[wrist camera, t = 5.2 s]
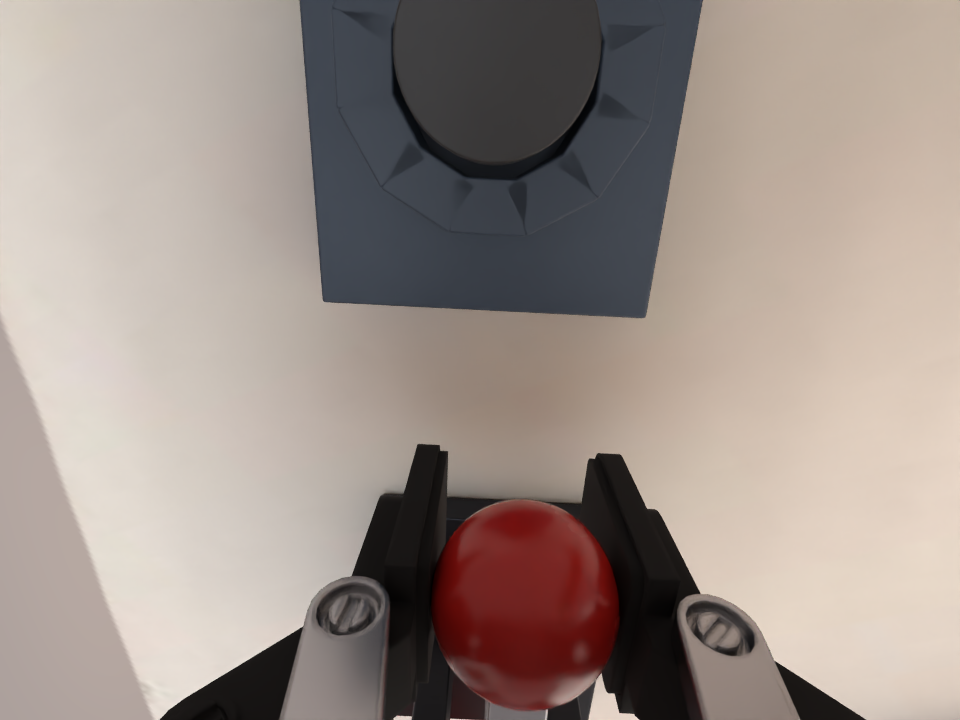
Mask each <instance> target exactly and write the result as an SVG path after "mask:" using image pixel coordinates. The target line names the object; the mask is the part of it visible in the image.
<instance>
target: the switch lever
mask: <svg viewBox="0 0 960 720" xmlns="http://www.w3.org/2000/svg"><path fill="white" fill-rule="evenodd" d="M430 610H431V619H432V624H433V629H434V633H435V636H436V639H437V642H438V645H439V648H440V650H441V651H442V653H443V655H444V657H445V659H446V661H447V663H448V665H449V666H450V667H451V669H452V670H453V672H454V673H455V674H456V675H457V677H458V678H459V679H460V680H461V681H462V682H463V683H464V684H465V685H466V686H467V687H468V688H469V689H470V690H472V691H473V692H474V693H476V694H477V695H479V696H480V697H482V698H483V699H485V700H486V702H485V718H484V720H547V714H548V709H552V708H555V707H558V706H561V705H563V704H565V703H568V702H570V701H571V700H573V699H575V698H576V697H578V696H579V695H580V694H582V693H583V692H584V691H585V690H586V689H587V688H588V687H590V686H591V684H592V683H593V682H594V681H595V680H596V679H597V678H598V677H599V675H600V674H601V672H602V671H603V669H604V668H605V666H606V664H607V662H608V660H609V658H610V657H611V654H612V651H613V649H614V646H615V643H616V639H617V635H618V630H619V623H620V599H619V589H618V584H617V580H616V577H615V573H614V570H613V567H612V565H611V563H610V560H609V558H608V556H607V554H606V552H605V551H604V549H603V547H602V546H601V544H600V542H599V541H598V540H597V539H596V537H595V536H594V535H593V534H592V533H591V531H590V530H589V529H588V528H587V527H586V526H585V525H584V524H583V523H582V522H581V521H579V520H578V519H577V518H575V517H574V516H572V515H571V514H569V513H568V512H566V511H565V510H563V509H561V508H559V507H557V506H554V505H551V504H549V503H545V502H541V501H537V500H529V499H512V500H505V501H501V502H497V503H494V504H492V505H489V506H487V507H484V508H483V509H481V510H479V511H477V512H475V513H474V514H472V515H471V516H470V517H468V518H467V519H466V520H465V521H464V522H463V523H462V524H460V525H459V527H458V528H457V529H456V530H455V531H454V532H453V534H452V535H451V536H450V537H449V539H448V540H447V542H446V544H445V545H444V547H443V549H442V551H441V553H440V555H439V558H438V560H437V563H436V566H435V570H434V574H433V578H432V585H431V598H430Z"/></svg>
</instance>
